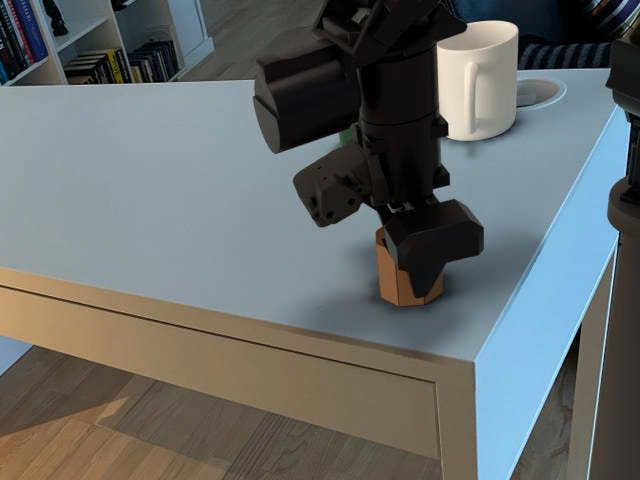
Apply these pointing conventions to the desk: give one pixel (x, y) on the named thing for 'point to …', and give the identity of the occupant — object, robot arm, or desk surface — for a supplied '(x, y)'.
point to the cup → (479, 80)
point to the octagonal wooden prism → (398, 279)
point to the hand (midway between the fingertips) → (410, 278)
